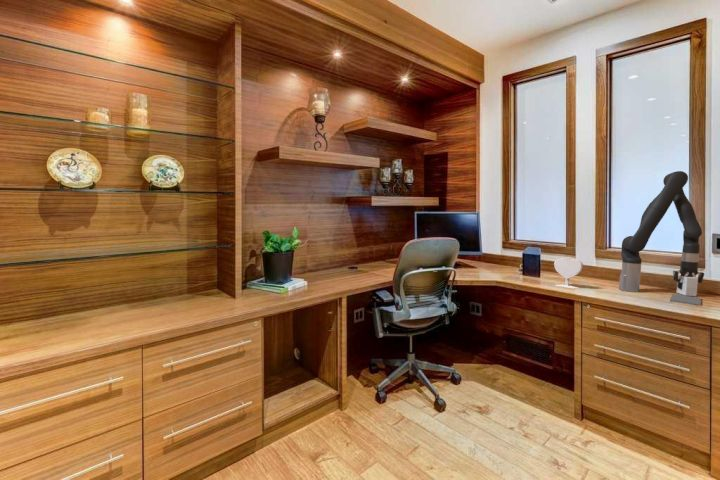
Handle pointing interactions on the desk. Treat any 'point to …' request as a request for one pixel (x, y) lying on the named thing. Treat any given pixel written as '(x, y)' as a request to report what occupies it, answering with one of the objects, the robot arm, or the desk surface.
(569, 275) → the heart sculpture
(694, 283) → the small box
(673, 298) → the mat
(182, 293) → the desk surface
